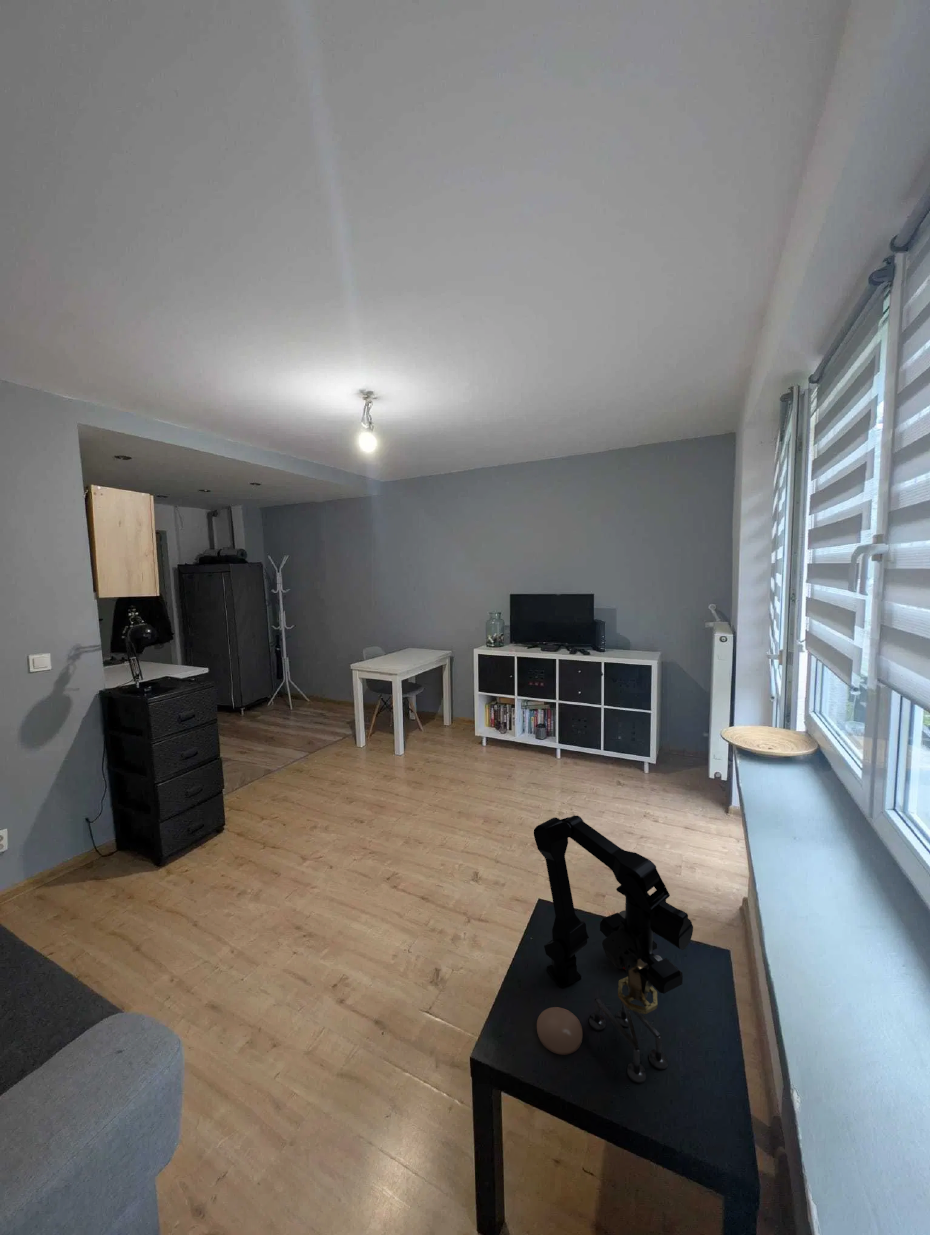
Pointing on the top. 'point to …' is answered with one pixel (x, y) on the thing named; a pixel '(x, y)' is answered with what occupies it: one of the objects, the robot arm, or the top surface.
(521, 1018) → the top surface
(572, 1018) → the coaster
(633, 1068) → the zigzag metal pull handle
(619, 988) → the octagonal handwheel knob
